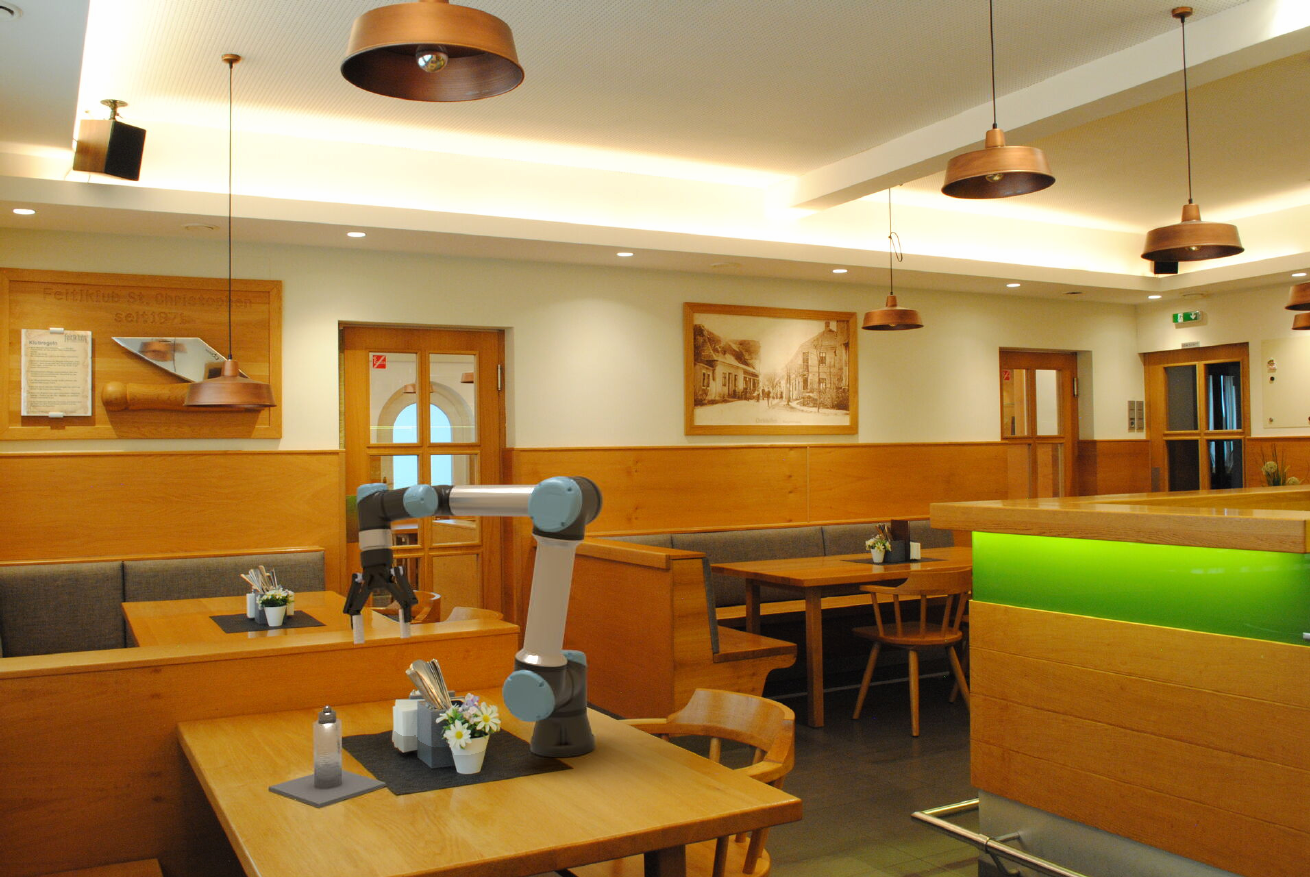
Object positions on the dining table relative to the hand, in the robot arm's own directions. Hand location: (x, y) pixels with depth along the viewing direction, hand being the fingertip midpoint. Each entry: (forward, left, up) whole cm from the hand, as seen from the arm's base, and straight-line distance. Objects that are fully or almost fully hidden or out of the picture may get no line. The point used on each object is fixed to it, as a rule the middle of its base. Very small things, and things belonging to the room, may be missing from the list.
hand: (382, 640), depth 233 cm
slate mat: (-10, +22, -27) cm, 36 cm away
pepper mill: (-10, +21, -26) cm, 35 cm away
